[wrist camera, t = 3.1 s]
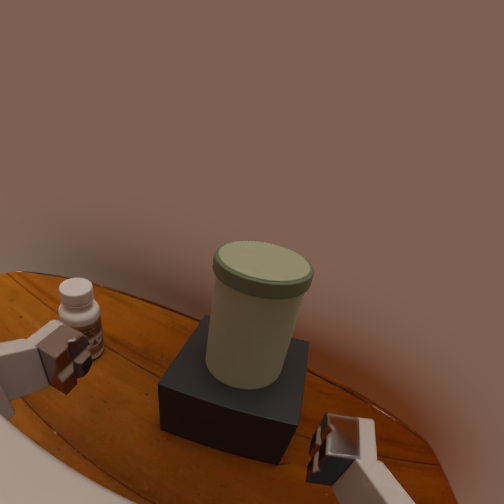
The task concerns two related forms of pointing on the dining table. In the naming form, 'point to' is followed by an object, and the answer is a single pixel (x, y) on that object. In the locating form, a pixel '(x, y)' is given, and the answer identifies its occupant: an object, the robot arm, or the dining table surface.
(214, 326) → the lidded cream canister
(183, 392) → the dark grey square box
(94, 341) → the pill bottle
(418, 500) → the dining table surface
